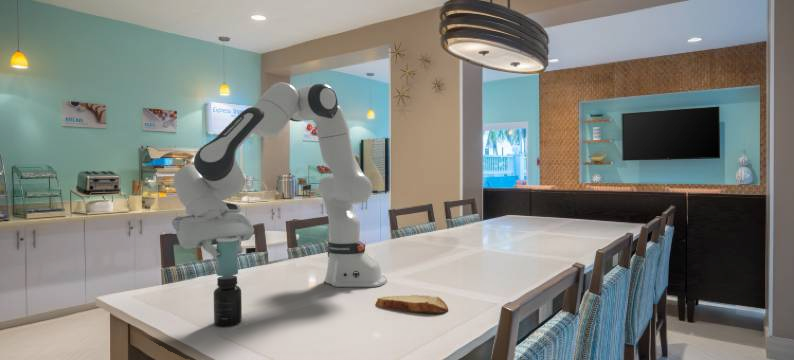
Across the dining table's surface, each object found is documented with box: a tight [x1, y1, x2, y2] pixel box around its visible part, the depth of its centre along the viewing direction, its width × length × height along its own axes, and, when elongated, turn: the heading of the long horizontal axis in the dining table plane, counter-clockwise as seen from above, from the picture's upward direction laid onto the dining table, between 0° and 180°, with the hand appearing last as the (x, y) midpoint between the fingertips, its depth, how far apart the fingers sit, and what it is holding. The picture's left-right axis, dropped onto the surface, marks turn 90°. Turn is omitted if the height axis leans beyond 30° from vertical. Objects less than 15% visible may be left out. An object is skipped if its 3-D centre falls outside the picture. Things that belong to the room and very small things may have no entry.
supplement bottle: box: [213, 275, 243, 328], centre depth 118 cm, size 7×7×12 cm
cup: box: [216, 236, 239, 277], centre depth 118 cm, size 5×5×10 cm
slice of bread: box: [374, 294, 449, 315], centre depth 132 cm, size 18×18×4 cm
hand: (229, 254), depth 117 cm, fingers closed on cup, 5 cm apart
